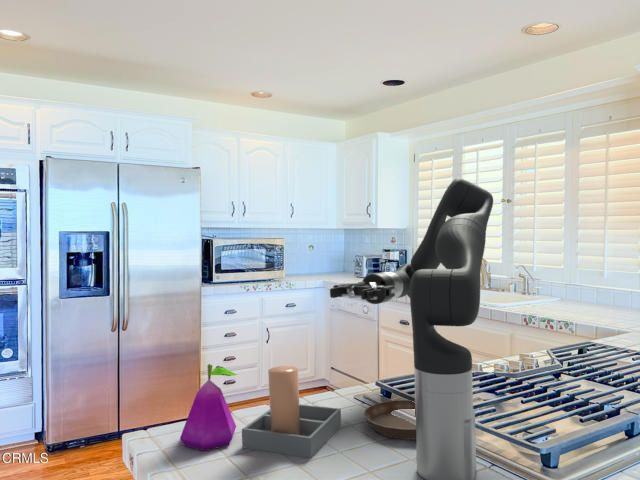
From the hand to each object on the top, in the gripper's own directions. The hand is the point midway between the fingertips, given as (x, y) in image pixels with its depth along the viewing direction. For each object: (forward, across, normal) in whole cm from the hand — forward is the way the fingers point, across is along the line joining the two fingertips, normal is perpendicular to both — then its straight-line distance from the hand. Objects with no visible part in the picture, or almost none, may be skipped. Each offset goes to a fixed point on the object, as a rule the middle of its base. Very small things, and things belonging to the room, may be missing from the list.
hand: (346, 294), depth 114 cm
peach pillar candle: (+22, 0, +25) cm, 34 cm away
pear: (+30, -13, +26) cm, 42 cm away
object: (+2, +16, +26) cm, 31 cm away
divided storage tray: (+19, -1, +26) cm, 32 cm away
